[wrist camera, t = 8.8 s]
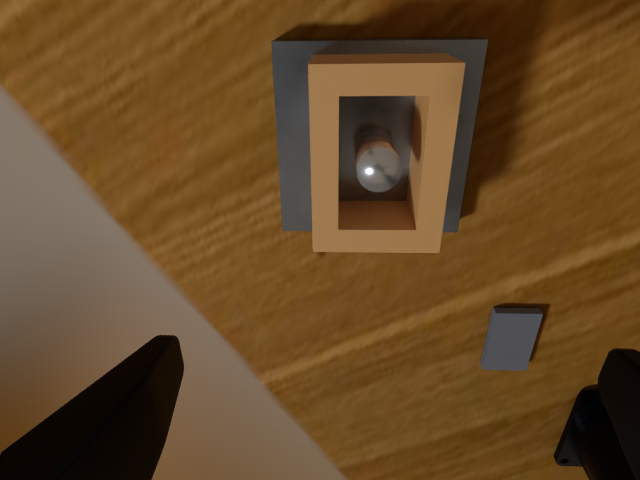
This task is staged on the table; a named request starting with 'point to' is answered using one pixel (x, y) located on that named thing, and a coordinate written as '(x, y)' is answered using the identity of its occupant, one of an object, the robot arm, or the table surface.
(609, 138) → the table surface
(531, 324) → the grey rectangular block
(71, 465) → the robot arm
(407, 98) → the plate
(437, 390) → the table surface
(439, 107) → the link
